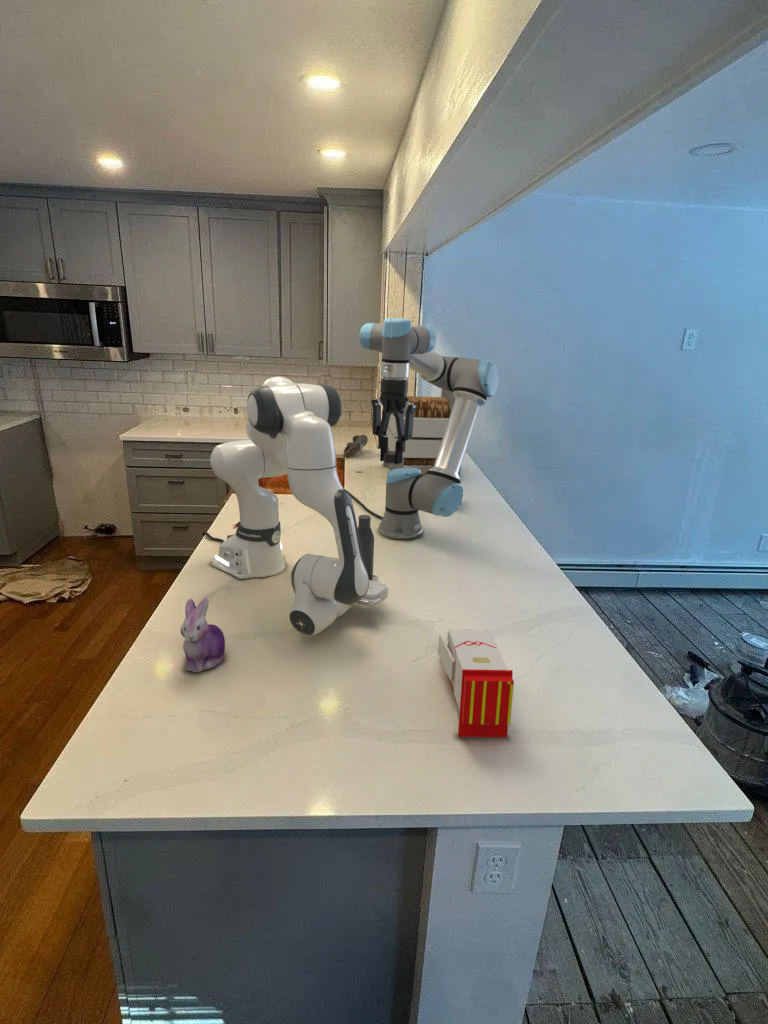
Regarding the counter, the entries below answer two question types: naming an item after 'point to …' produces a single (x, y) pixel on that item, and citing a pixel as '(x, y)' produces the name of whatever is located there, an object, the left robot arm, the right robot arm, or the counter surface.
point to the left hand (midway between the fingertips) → (364, 574)
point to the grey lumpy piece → (355, 445)
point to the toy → (478, 682)
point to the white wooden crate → (422, 430)
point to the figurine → (201, 638)
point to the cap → (389, 457)
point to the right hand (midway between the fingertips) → (391, 461)
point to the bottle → (366, 542)
